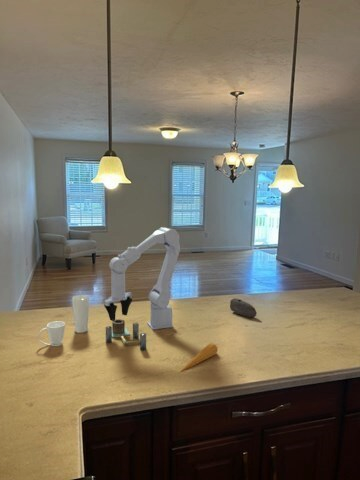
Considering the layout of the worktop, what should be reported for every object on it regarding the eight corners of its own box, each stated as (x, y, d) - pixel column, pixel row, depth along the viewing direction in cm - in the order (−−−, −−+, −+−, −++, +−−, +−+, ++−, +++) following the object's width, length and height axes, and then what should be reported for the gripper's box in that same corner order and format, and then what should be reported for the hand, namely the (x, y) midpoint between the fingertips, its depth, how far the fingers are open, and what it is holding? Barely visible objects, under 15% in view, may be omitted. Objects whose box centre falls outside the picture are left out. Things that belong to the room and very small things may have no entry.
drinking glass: (85, 334, 149) (84, 300, 147) (70, 333, 150) (69, 298, 148) (92, 328, 156) (91, 295, 153) (77, 327, 157) (77, 294, 155)
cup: (67, 345, 139) (67, 325, 138) (40, 350, 134) (39, 330, 133) (63, 338, 145) (63, 319, 144) (37, 343, 140) (36, 324, 139)
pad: (125, 328, 157) (125, 327, 157) (130, 335, 150) (130, 333, 150) (107, 330, 154) (107, 329, 154) (110, 337, 147) (110, 336, 147)
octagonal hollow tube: (117, 328, 155) (117, 318, 155) (126, 331, 153) (126, 320, 152) (110, 332, 151) (109, 322, 150) (119, 334, 148) (119, 324, 148)
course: (137, 335, 150) (137, 321, 149) (147, 349, 136) (147, 335, 135) (104, 339, 145) (104, 325, 144) (111, 355, 131) (111, 340, 130)
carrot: (212, 353, 137) (208, 342, 137) (221, 352, 134) (217, 341, 134) (177, 378, 122) (173, 365, 122) (186, 378, 119) (182, 365, 119)
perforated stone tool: (259, 318, 172) (259, 304, 171) (252, 320, 169) (252, 306, 168) (235, 309, 184) (236, 296, 183) (228, 312, 180) (229, 298, 179)
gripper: (113, 292, 141) (114, 325, 143) (136, 283, 153) (137, 314, 155) (100, 289, 144) (101, 321, 146) (124, 281, 157) (124, 311, 159)
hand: (118, 317), depth 151 cm, fingers open, 7 cm apart
